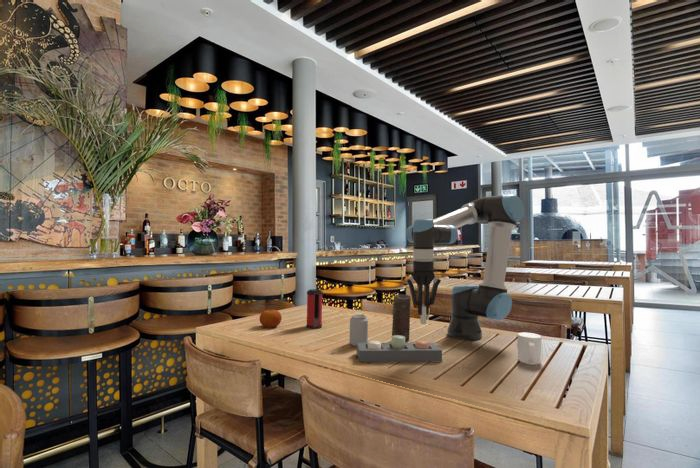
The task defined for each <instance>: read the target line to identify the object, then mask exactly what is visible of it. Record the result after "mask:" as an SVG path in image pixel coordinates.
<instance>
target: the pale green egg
mask: <svg viewBox="0 0 700 468" xmlns="http://www.w3.org/2000/svg"><path fill="white" fill-rule="evenodd" d="M391 343H392V349H405V337H404V336H401V335H394V336H392V335H391Z"/></svg>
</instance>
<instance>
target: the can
mask: <svg viewBox="0 0 700 468" xmlns="http://www.w3.org/2000/svg"><path fill="white" fill-rule="evenodd" d="M368 332H369V319H368V318H367V316H366V314H352V315H351V318H349V344H350V345H351V346H352V347H356V348H357V343H368V340H369V339H368V337H369V335H368V334H369V333H368Z"/></svg>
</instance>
